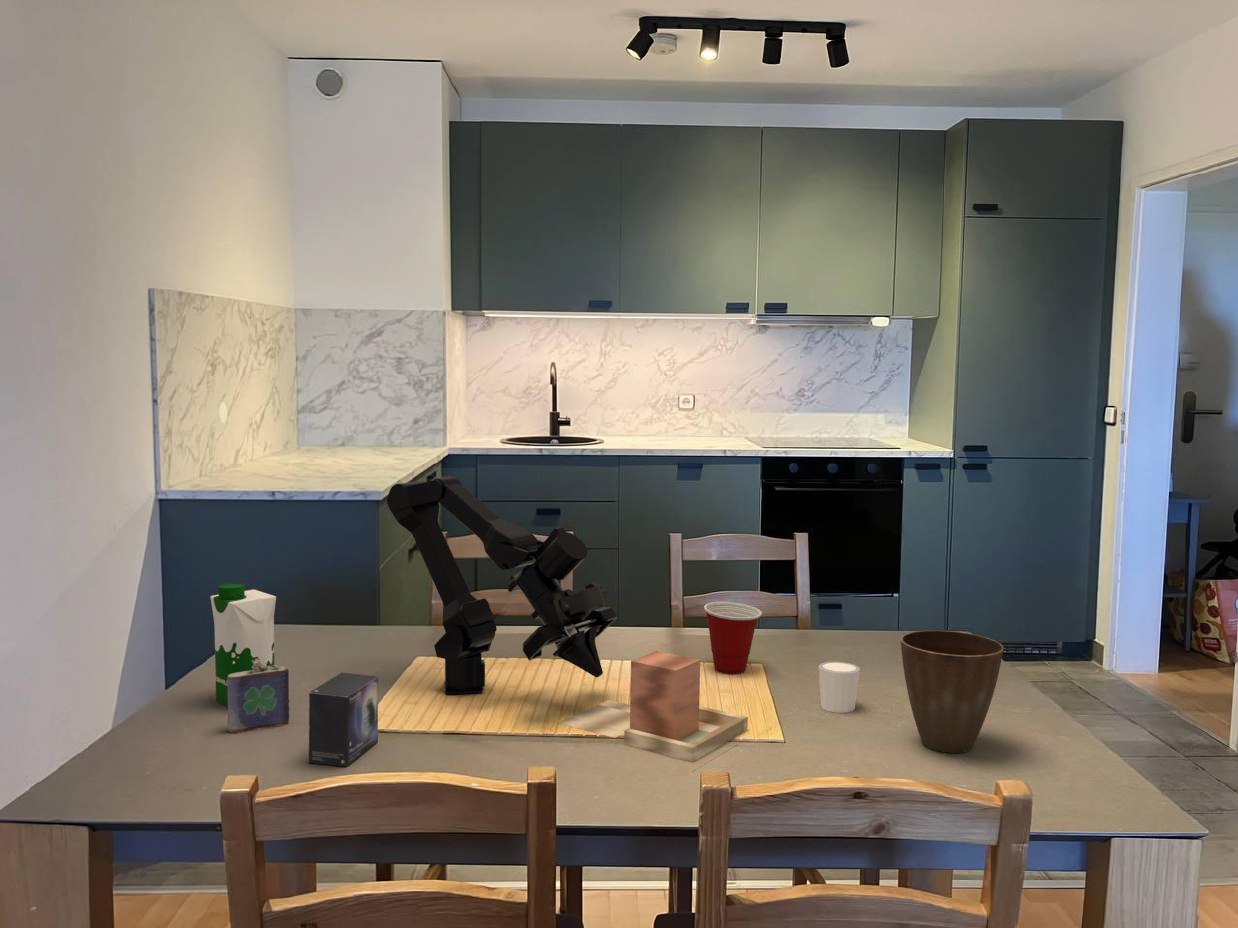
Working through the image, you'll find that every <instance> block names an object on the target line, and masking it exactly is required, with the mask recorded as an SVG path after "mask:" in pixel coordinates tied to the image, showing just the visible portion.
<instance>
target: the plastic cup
mask: <svg viewBox="0 0 1238 928" xmlns="http://www.w3.org/2000/svg"><path fill="white" fill-rule="evenodd" d="M703 608H704V611H705V613H706V614H705V615H706V619H707V625H708V633H709V639H710V649H711V653H712V658H713V659H712V660H713V666H714V670H715V671H716V672H718V673H721V674H727V675H739V674H743V673H745V672H746V669H747V666H748V662H749V655H750V654H751V648H752V644H753V640H754V633H755V629H756V628H757V624H758V621H759V619H760V617H761V616H762V614H763V612H762V611H761V610H760V609H759V608H757V607H755V606H752V605H749V604H745V603H739V602H731V601H712V602H708V603H706V604H705V605H704V606H703Z"/></svg>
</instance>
